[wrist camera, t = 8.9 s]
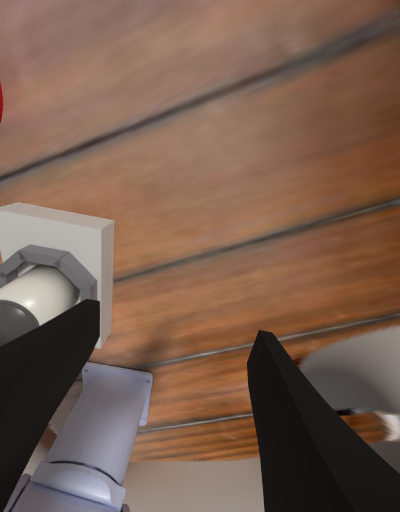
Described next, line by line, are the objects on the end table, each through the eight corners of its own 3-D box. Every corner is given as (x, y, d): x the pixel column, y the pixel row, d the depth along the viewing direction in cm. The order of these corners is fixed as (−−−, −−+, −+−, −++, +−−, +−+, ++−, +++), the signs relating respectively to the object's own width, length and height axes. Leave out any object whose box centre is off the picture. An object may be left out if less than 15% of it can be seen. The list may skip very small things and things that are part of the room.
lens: (82, 311, 20) (45, 357, 16) (31, 306, 20) (-20, 350, 16) (77, 267, 19) (35, 303, 14) (22, 260, 19) (-39, 295, 14)
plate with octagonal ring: (111, 330, 24) (94, 358, 21) (35, 316, 24) (6, 343, 21) (114, 220, 19) (93, 234, 16) (18, 202, 19) (-23, 212, 16)
